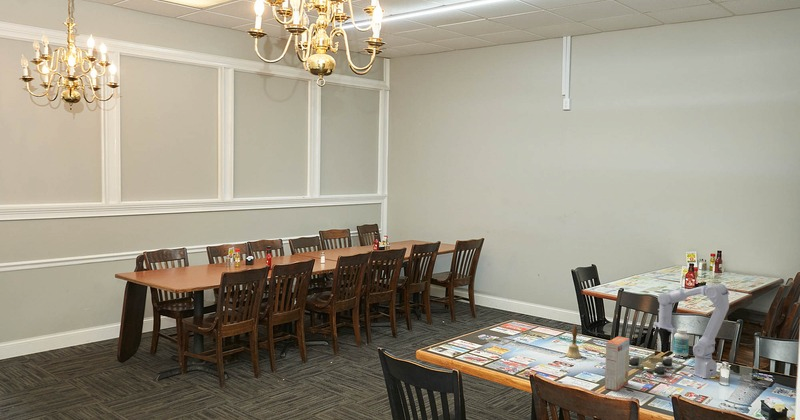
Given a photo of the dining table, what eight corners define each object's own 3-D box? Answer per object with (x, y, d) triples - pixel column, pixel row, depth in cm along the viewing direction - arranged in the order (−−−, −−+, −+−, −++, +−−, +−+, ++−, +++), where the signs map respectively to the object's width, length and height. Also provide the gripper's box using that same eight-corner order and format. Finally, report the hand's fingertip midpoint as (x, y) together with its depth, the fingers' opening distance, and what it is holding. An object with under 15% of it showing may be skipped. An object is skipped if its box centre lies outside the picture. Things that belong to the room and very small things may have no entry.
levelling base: (690, 375, 302) (690, 370, 302) (651, 378, 297) (651, 373, 296) (662, 362, 321) (662, 358, 321) (625, 365, 316) (625, 360, 316)
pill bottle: (672, 355, 334) (673, 330, 333) (673, 352, 340) (674, 327, 339) (687, 358, 330) (689, 332, 329) (688, 354, 337) (690, 329, 336)
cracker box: (615, 380, 293) (617, 335, 291) (628, 383, 289) (630, 338, 287) (603, 388, 282) (605, 341, 280) (617, 391, 278) (619, 344, 276)
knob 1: (639, 363, 315) (639, 355, 315) (638, 366, 311) (638, 358, 310) (616, 360, 319) (616, 352, 319) (615, 362, 315) (615, 355, 315)
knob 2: (671, 363, 316) (671, 356, 315) (673, 366, 311) (673, 358, 311) (647, 361, 318) (648, 354, 317) (649, 364, 313) (650, 357, 313)
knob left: (666, 373, 301) (667, 365, 300) (661, 375, 298) (662, 367, 297) (645, 367, 309) (645, 359, 309) (640, 369, 306) (640, 361, 306)
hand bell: (580, 354, 334) (581, 323, 332) (583, 358, 325) (584, 327, 324) (564, 353, 334) (565, 323, 333) (566, 358, 326) (567, 327, 325)
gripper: (682, 319, 311) (680, 347, 312) (662, 313, 325) (661, 339, 326) (669, 320, 309) (668, 348, 310) (650, 313, 323) (649, 340, 324)
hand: (663, 343), depth 318 cm, fingers closed
